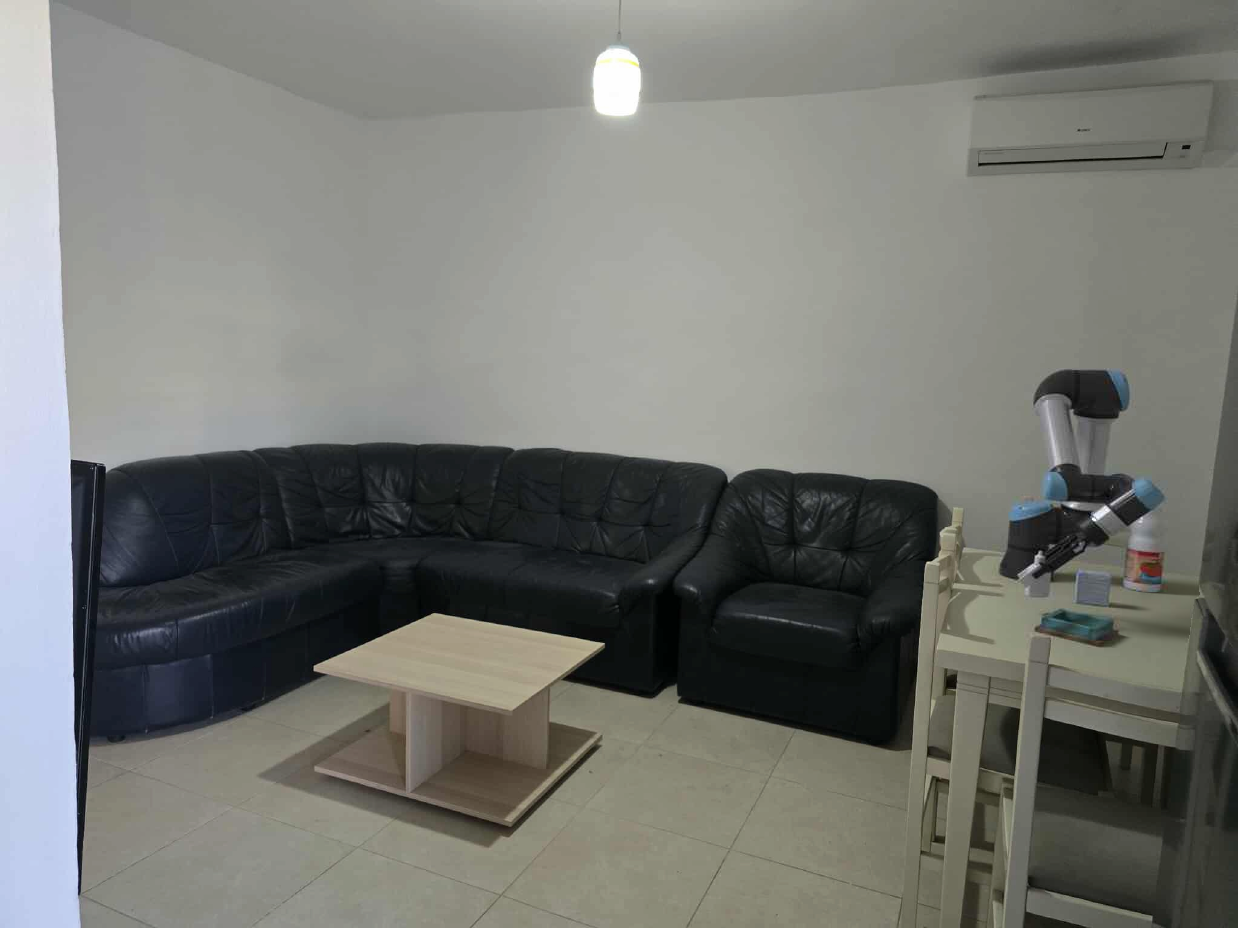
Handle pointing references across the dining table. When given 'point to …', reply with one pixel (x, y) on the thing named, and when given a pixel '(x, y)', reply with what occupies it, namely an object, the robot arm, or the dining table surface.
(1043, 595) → the eye dropper bottle
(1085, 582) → the medicine box
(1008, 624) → the dining table surface
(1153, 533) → the fruit juice
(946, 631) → the dining table surface
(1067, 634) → the bottle stand
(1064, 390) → the robot arm
